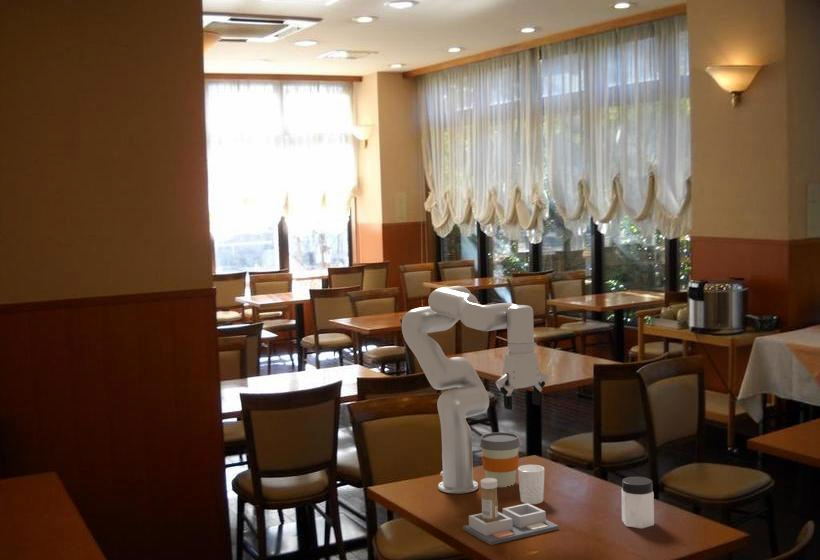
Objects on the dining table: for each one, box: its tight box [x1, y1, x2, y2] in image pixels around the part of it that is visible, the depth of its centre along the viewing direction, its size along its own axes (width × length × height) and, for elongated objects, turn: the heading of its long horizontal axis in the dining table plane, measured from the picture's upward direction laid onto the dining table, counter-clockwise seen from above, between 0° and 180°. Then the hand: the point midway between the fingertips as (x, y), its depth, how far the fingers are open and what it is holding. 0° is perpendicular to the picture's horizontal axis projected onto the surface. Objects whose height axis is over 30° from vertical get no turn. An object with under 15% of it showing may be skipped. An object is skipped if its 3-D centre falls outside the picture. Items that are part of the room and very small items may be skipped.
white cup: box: [517, 464, 545, 505], centre depth 281 cm, size 8×8×10 cm
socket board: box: [462, 503, 559, 546], centre depth 257 cm, size 14×22×4 cm, turn 118°
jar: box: [620, 476, 655, 529], centre depth 258 cm, size 9×8×12 cm
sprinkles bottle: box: [480, 477, 499, 523], centre depth 255 cm, size 5×5×14 cm
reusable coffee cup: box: [479, 431, 521, 488], centre depth 299 cm, size 13×13×15 cm
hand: (522, 406), depth 271 cm, fingers open, 9 cm apart
